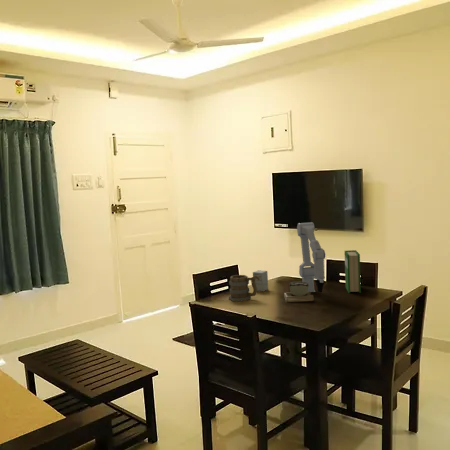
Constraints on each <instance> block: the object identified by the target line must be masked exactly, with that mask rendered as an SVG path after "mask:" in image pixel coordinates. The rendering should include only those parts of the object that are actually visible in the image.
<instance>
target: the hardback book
mask: <svg viewBox="0 0 450 450" xmlns="http://www.w3.org/2000/svg"><path fill="white" fill-rule="evenodd" d="M344 277H345V278H344V279H345V289H346V291H347V293H348V294H350V293H351V292H352V293H354V292H355V293H356V292H357V293H359V294H361V293H362V290H361V289H362V283H361V255H360V253H359V252H358V250H356V249H355V250H353V249H352V250H344Z"/></svg>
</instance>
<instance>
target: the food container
mask: <svg viewBox="0 0 450 450" xmlns="http://www.w3.org/2000/svg"><path fill="white" fill-rule="evenodd" d="M308 286H309V284H308V283H307V282H302V281H292V282H289V284H288V287H289V291H290V292H291V296H308Z"/></svg>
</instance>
